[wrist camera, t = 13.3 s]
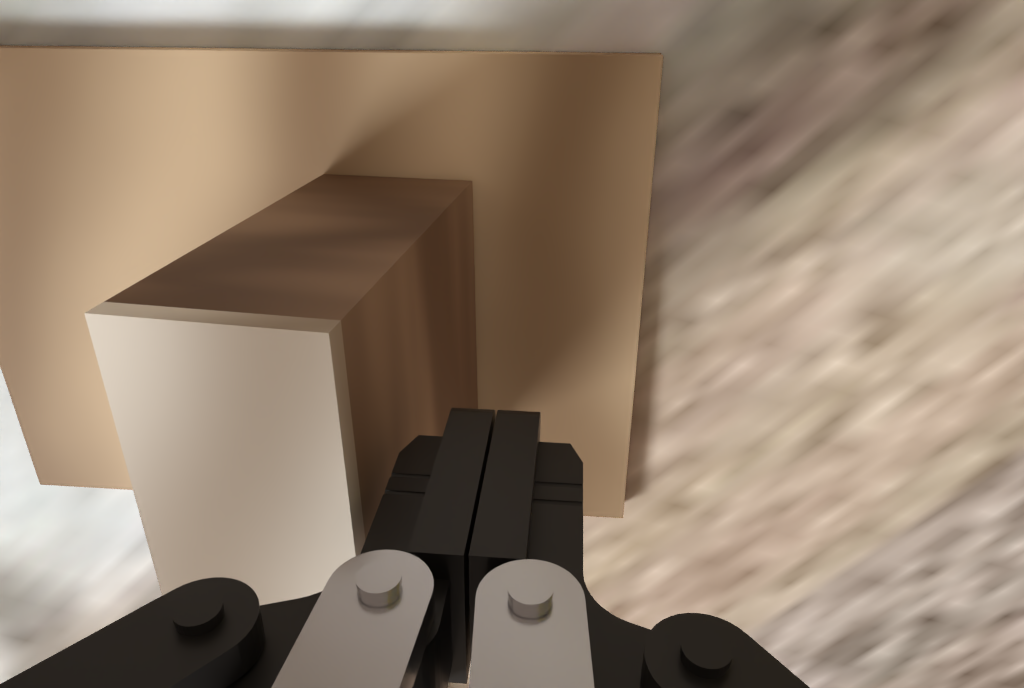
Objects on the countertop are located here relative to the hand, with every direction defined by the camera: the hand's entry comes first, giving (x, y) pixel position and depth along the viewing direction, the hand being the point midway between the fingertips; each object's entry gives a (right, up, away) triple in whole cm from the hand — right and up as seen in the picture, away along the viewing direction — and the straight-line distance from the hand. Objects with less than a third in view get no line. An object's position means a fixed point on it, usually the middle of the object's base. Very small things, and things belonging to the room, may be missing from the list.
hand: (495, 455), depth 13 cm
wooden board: (-5, +3, +7) cm, 9 cm away
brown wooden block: (-2, +2, +6) cm, 7 cm away
